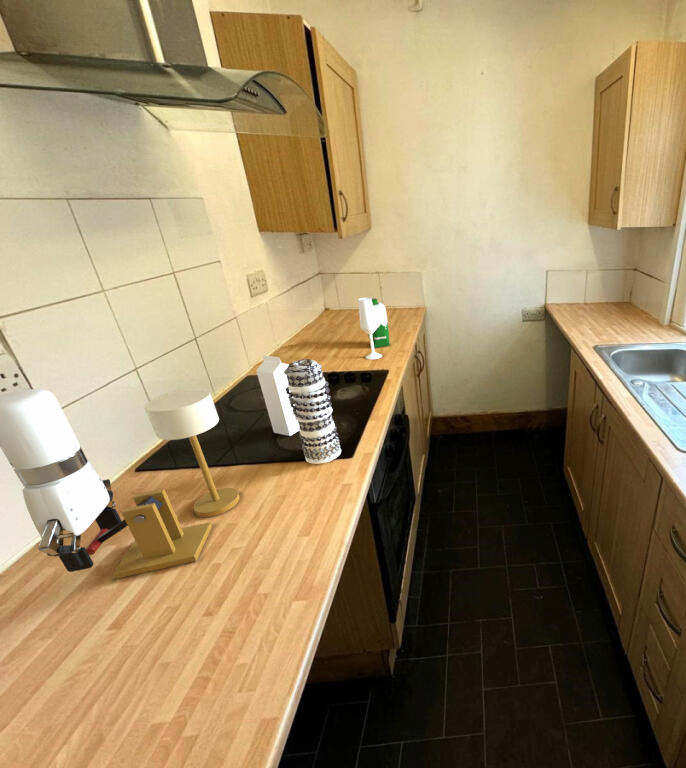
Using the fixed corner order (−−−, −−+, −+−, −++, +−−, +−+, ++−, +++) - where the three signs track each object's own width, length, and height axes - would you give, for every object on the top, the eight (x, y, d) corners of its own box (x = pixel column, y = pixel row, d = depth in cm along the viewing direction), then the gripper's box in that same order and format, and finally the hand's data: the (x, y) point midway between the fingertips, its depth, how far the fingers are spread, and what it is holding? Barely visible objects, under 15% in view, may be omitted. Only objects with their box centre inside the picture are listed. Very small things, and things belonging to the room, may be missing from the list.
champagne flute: (367, 360, 168) (357, 301, 158) (364, 355, 173) (354, 298, 164) (383, 357, 171) (375, 299, 161) (380, 352, 176) (371, 296, 167)
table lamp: (181, 525, 83) (133, 415, 73) (198, 494, 92) (158, 392, 81) (238, 514, 86) (200, 406, 76) (249, 485, 94) (216, 385, 84)
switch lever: (92, 558, 71) (78, 550, 69) (108, 537, 75) (95, 530, 74) (154, 517, 71) (141, 508, 70) (166, 498, 76) (154, 490, 74)
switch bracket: (115, 579, 71) (85, 525, 66) (139, 541, 79) (114, 491, 74) (196, 561, 75) (174, 509, 70) (212, 526, 82) (193, 478, 78)
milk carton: (387, 340, 192) (381, 297, 183) (392, 346, 184) (386, 301, 176) (367, 343, 188) (360, 299, 180) (372, 349, 180) (365, 303, 172)
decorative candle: (335, 464, 101) (313, 369, 91) (297, 465, 101) (271, 370, 91) (348, 444, 110) (329, 355, 100) (312, 445, 110) (291, 356, 100)
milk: (290, 436, 114) (269, 361, 105) (273, 432, 116) (252, 359, 107) (307, 425, 119) (289, 353, 110) (290, 422, 121) (271, 351, 112)
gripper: (58, 442, 72) (99, 519, 79) (-22, 505, 57) (37, 593, 64) (110, 435, 74) (146, 510, 81) (47, 494, 59) (97, 580, 66)
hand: (98, 547), depth 73 cm, fingers open, 9 cm apart
